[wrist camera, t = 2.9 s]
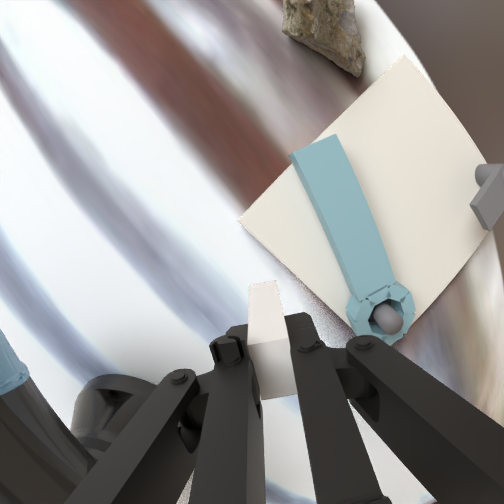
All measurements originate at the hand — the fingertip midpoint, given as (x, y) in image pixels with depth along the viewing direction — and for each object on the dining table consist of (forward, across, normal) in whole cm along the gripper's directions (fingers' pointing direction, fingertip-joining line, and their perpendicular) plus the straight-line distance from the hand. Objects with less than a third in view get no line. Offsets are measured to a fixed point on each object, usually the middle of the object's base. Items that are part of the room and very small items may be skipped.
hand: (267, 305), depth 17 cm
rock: (+10, +10, +21) cm, 25 cm away
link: (+8, +8, 0) cm, 11 cm away
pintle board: (+10, +13, +2) cm, 16 cm away
